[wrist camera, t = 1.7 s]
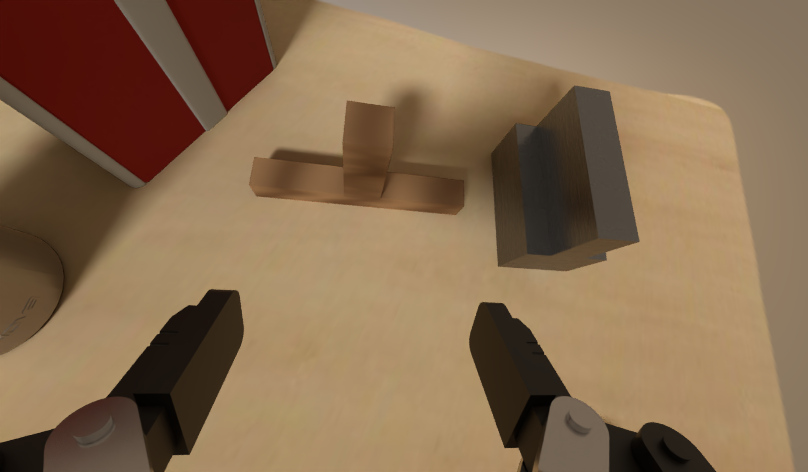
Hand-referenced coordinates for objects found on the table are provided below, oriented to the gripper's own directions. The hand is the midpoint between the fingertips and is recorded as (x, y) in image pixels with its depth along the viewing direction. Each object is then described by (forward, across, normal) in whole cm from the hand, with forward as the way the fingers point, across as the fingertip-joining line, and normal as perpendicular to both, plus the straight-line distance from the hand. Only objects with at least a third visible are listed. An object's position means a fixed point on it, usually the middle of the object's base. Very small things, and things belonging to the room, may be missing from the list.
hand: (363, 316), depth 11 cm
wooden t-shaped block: (+20, 0, +3) cm, 20 cm away
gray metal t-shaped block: (+20, -16, +3) cm, 26 cm away
